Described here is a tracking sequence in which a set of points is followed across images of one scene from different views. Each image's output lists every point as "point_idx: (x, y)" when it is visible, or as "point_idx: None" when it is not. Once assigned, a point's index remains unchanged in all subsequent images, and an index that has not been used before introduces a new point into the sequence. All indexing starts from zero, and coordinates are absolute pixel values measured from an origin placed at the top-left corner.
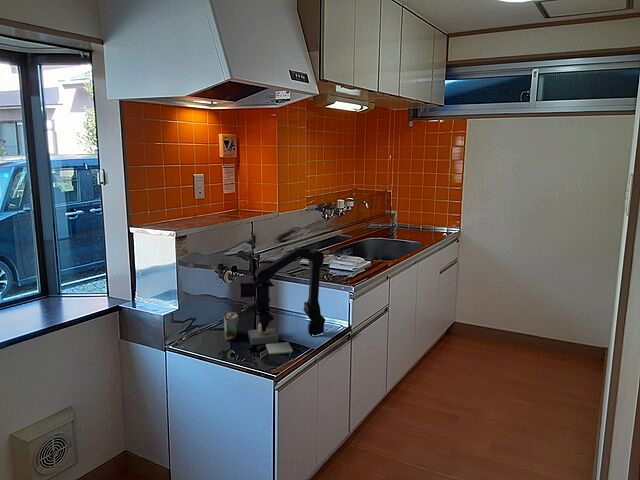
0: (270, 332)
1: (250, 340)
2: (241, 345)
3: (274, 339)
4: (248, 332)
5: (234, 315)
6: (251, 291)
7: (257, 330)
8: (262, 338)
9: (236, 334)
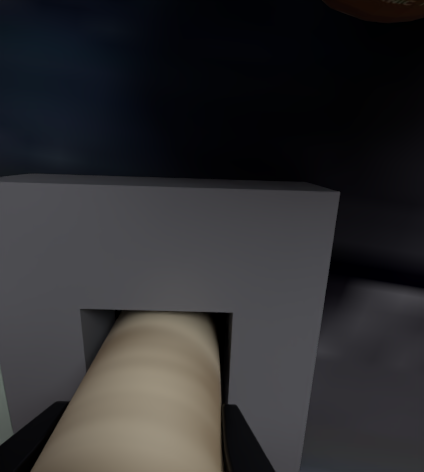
0: None
1: (77, 177)
2: (30, 44)
3: None
4: (292, 188)
5: None
6: None
7: (281, 324)
8: (6, 333)
9: (371, 1)
